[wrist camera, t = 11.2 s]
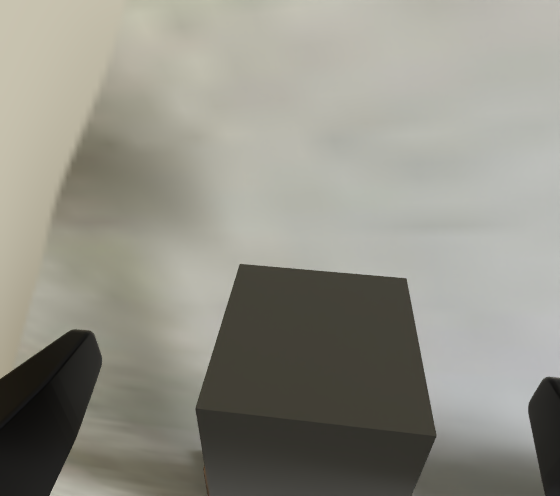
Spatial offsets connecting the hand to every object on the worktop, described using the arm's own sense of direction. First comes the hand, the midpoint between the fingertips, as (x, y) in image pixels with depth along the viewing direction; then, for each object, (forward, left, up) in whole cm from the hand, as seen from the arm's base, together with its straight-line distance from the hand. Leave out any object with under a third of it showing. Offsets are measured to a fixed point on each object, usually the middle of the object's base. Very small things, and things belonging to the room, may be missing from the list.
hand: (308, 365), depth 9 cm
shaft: (0, +10, -2) cm, 10 cm away
